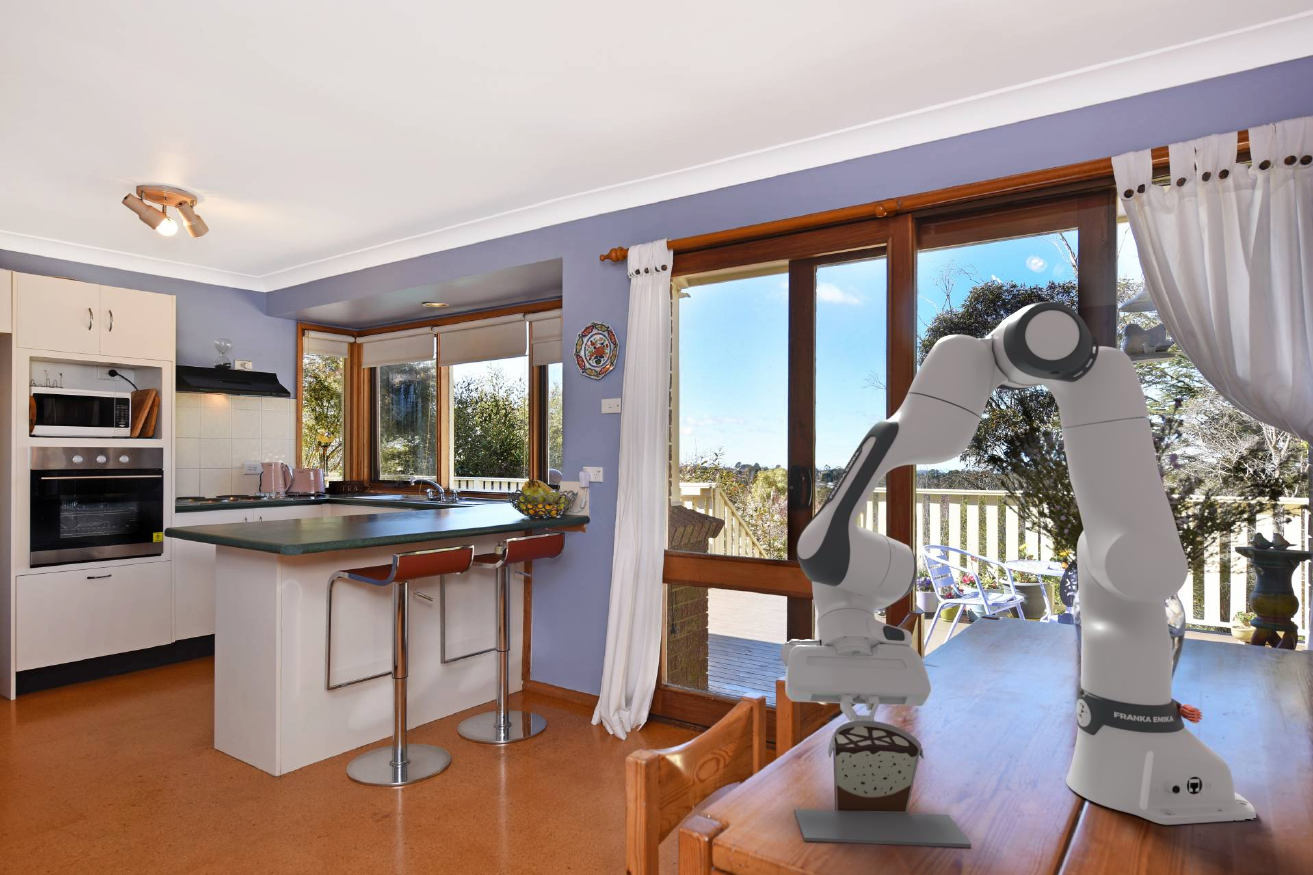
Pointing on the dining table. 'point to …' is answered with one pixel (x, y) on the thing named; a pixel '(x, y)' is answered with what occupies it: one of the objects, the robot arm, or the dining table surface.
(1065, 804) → the dining table surface
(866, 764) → the food container
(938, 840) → the charcoal rubber mat
